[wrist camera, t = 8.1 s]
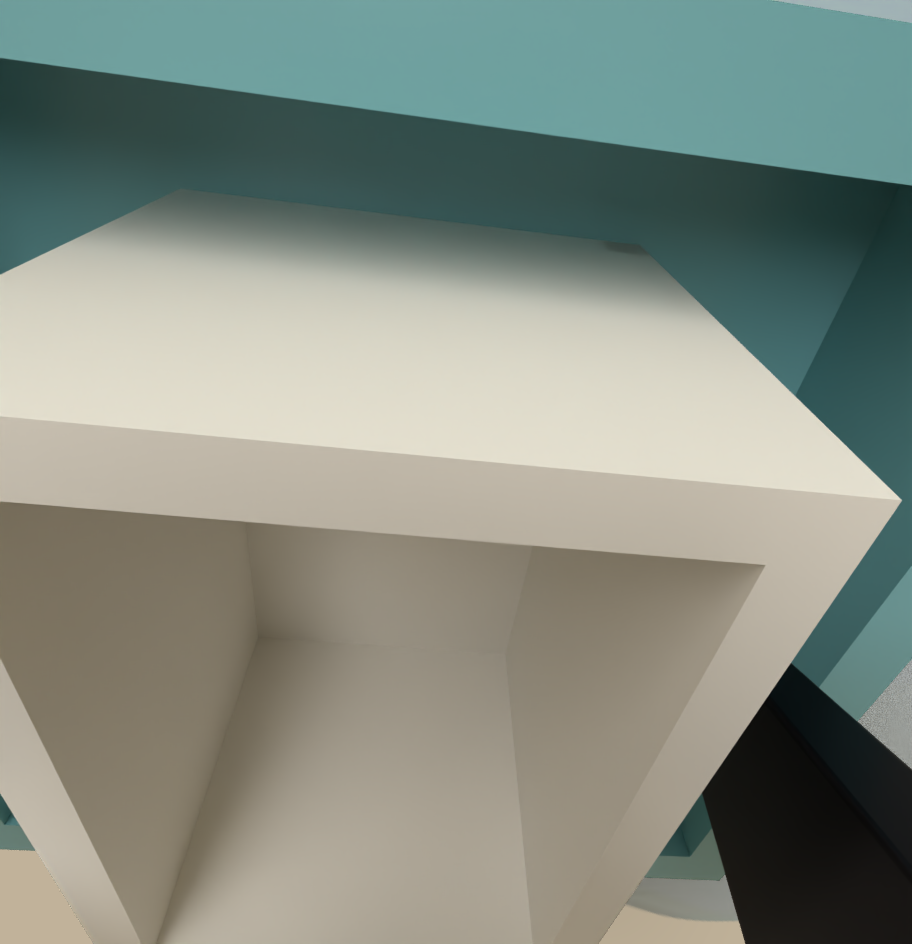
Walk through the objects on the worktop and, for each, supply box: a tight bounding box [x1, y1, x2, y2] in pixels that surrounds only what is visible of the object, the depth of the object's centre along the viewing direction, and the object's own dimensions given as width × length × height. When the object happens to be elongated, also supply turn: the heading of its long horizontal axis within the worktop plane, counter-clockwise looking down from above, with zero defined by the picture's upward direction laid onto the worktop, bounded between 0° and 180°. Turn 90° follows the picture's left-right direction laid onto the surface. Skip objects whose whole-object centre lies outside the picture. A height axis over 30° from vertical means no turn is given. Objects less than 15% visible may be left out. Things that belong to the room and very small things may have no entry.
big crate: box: [0, 0, 912, 881], centre depth 10 cm, size 15×14×4 cm
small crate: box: [0, 189, 902, 944], centre depth 8 cm, size 6×9×6 cm
